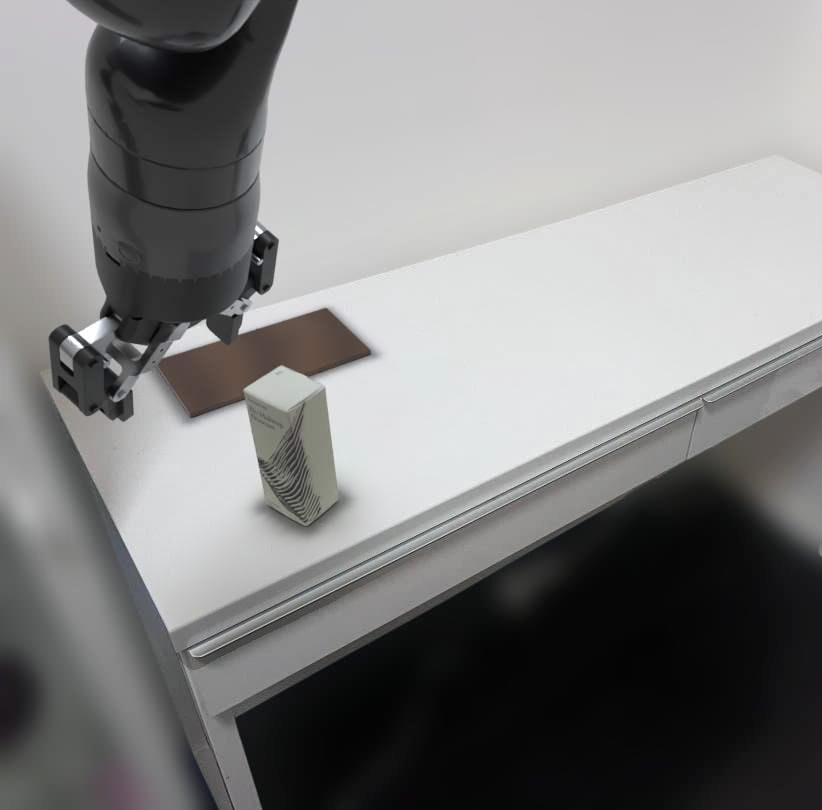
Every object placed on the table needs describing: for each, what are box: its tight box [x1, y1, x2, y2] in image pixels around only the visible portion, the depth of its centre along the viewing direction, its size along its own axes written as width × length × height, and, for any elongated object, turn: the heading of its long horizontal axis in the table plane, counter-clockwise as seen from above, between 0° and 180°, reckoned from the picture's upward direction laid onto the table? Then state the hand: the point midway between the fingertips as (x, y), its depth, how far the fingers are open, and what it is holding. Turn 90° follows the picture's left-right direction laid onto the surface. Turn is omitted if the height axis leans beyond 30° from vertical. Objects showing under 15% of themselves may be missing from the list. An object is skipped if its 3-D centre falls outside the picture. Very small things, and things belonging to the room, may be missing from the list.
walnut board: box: [156, 307, 372, 418], centre depth 88 cm, size 20×11×1 cm, turn 128°
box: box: [243, 365, 340, 527], centre depth 67 cm, size 5×4×13 cm
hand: (171, 370), depth 53 cm, fingers open, 8 cm apart
